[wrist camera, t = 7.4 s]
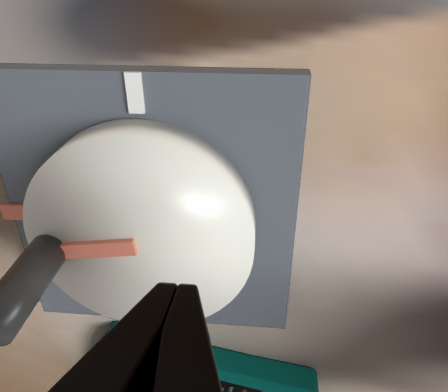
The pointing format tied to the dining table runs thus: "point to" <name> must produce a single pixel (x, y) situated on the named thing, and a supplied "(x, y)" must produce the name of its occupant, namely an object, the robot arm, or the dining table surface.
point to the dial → (131, 222)
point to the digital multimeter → (259, 373)
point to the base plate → (183, 118)
